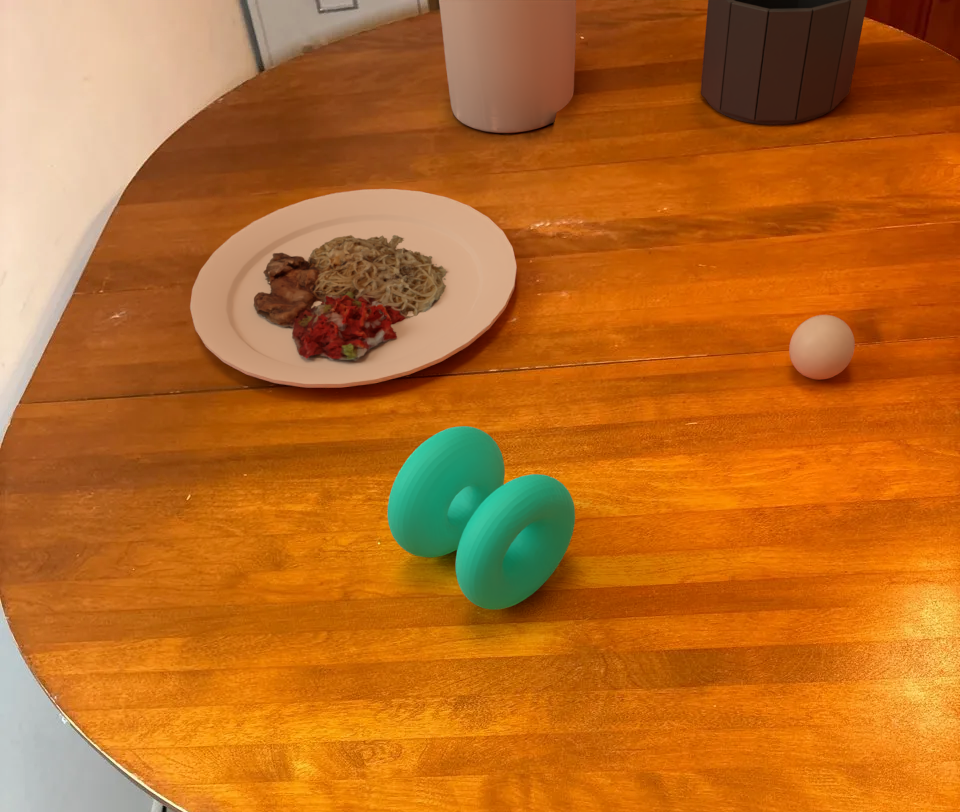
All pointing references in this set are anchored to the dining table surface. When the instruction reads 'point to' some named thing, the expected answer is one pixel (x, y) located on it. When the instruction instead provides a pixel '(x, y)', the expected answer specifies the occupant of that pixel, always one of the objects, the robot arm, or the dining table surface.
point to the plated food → (353, 288)
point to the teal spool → (481, 517)
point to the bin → (780, 57)
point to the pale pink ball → (822, 347)
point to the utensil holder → (509, 61)
